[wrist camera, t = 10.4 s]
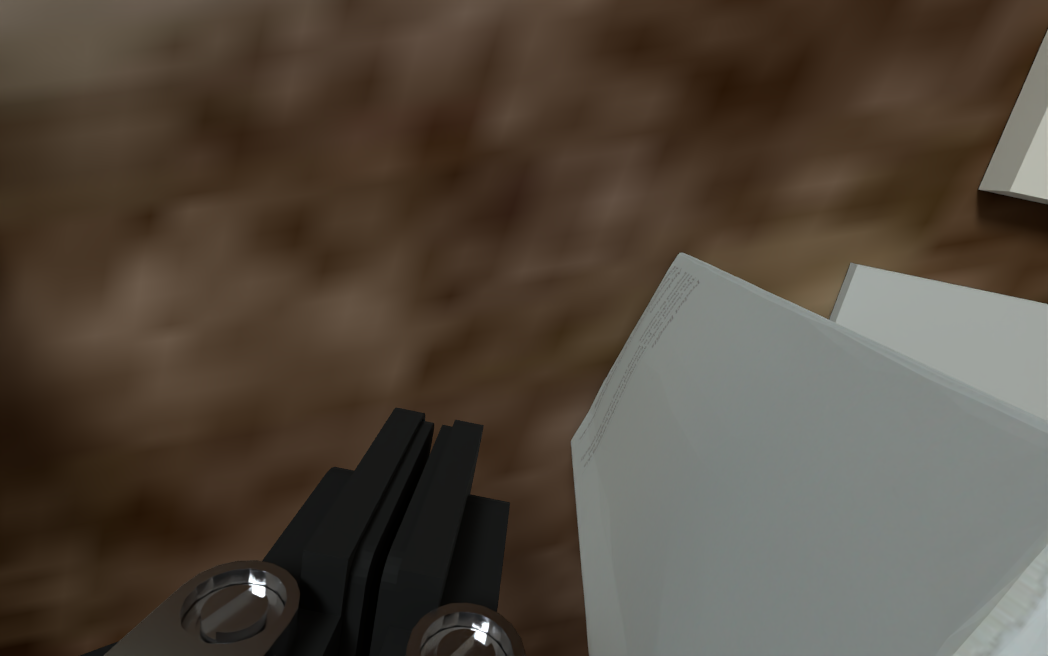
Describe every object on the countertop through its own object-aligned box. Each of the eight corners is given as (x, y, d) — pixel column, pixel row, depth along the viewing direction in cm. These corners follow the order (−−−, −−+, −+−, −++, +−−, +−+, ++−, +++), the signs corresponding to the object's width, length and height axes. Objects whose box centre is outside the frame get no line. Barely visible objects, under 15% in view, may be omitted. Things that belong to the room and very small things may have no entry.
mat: (753, 516, 21) (757, 523, 20) (850, 262, 18) (857, 265, 17) (1176, 600, 21) (1188, 608, 21) (1338, 364, 18) (1355, 369, 18)
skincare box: (699, 501, 21) (1041, 1242, 6) (559, 435, 20) (594, 1090, 6) (831, 311, 18) (1810, 811, 4) (676, 231, 18) (1199, 492, 4)
